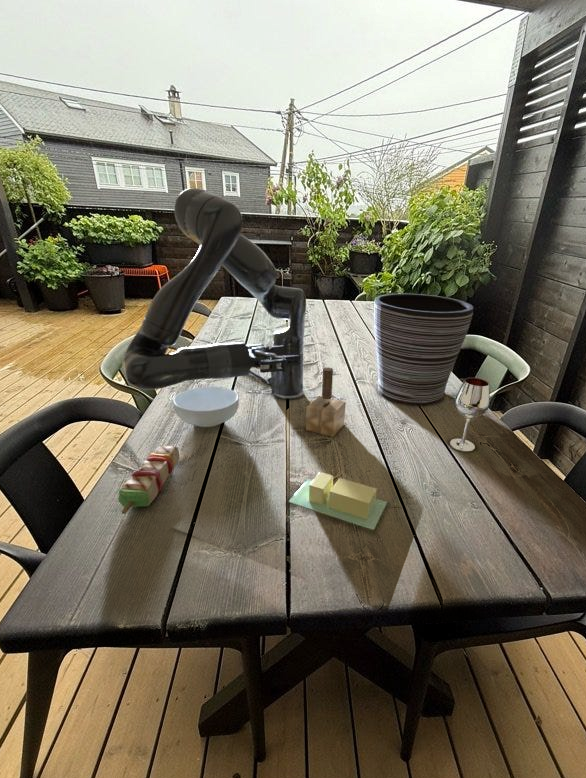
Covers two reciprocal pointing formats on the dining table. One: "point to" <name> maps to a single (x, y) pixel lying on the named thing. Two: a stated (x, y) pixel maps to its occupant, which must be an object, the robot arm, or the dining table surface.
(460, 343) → the planter pot
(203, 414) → the cereal bowl
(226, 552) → the dining table surface
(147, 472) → the skewer
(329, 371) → the knife
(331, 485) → the butter slice
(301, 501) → the butter dish
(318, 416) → the knife block
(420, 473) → the dining table surface
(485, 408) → the wineglass
